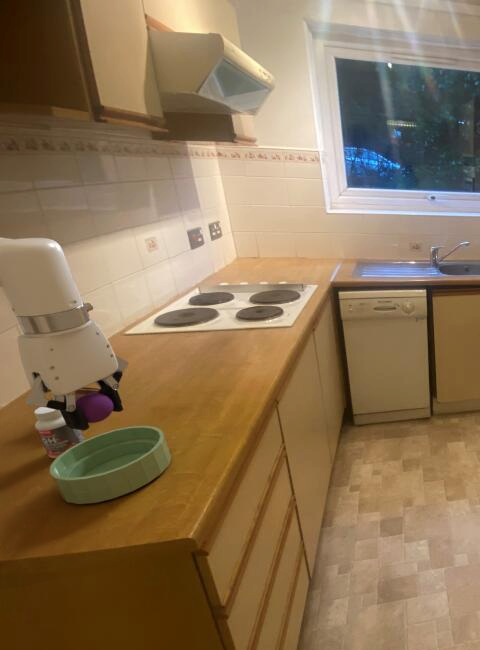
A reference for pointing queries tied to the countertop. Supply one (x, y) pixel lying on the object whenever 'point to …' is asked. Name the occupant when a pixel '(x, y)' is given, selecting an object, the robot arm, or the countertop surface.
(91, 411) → the ball
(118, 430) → the bowl
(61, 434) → the pill bottle
